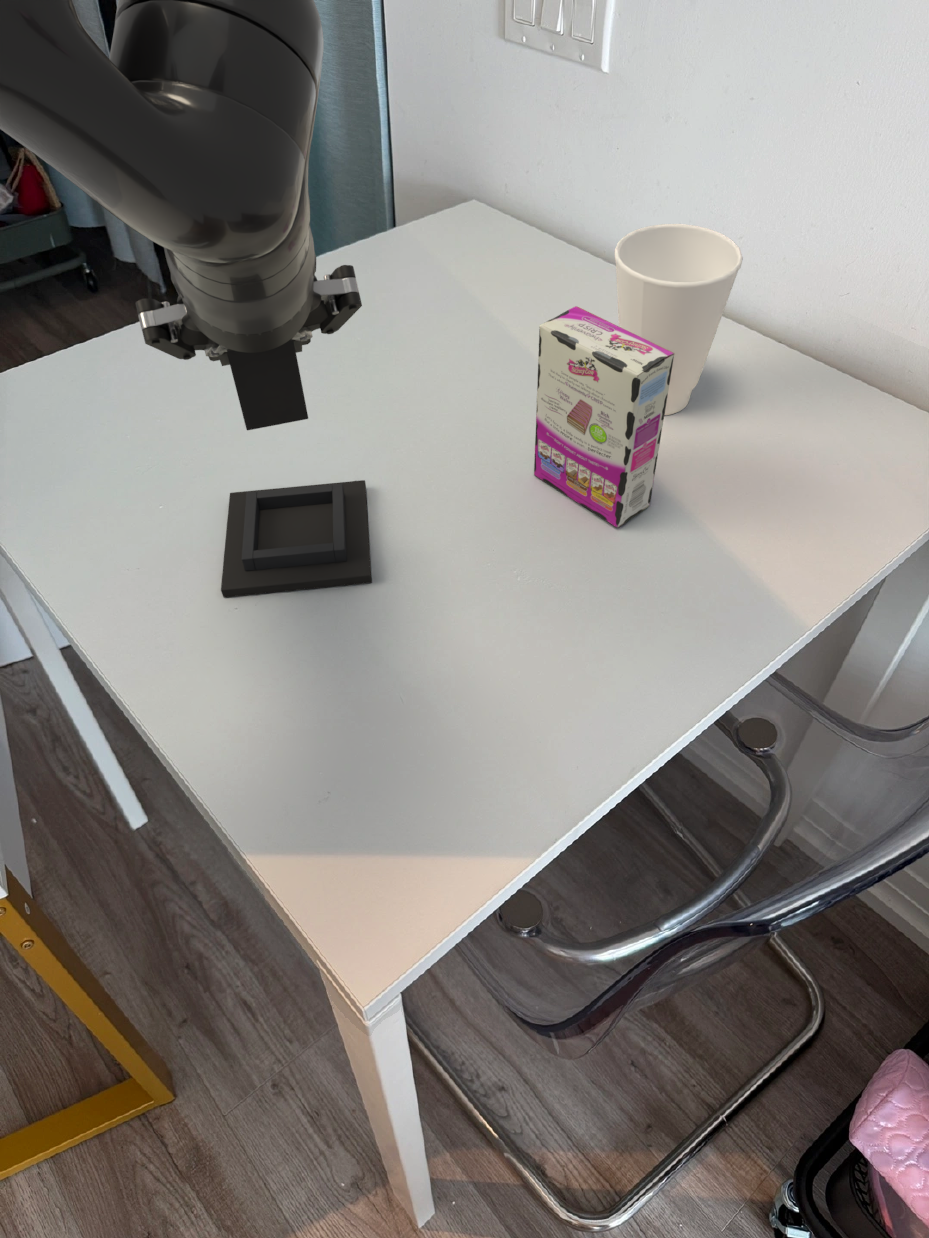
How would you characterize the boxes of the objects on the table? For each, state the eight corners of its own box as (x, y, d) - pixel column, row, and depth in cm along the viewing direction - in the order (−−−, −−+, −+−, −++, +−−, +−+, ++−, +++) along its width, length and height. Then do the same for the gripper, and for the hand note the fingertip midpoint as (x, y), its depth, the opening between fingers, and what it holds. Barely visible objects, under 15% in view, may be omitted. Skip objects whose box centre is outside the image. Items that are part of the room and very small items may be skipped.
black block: (246, 431, 65) (221, 331, 59) (239, 396, 68) (214, 297, 62) (308, 419, 66) (289, 319, 60) (298, 385, 69) (279, 287, 63)
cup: (733, 390, 97) (766, 246, 85) (674, 444, 91) (700, 298, 79) (640, 353, 102) (658, 211, 90) (578, 401, 97) (589, 258, 85)
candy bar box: (653, 505, 85) (679, 352, 73) (617, 531, 83) (638, 377, 71) (566, 452, 91) (576, 301, 79) (531, 475, 89) (536, 323, 77)
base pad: (223, 598, 79) (216, 578, 77) (231, 500, 88) (226, 480, 86) (371, 583, 80) (368, 563, 78) (366, 487, 88) (363, 467, 86)
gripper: (358, 172, 49) (344, 276, 66) (88, 212, 47) (145, 310, 64) (388, 309, 50) (367, 378, 67) (124, 356, 48) (170, 415, 64)
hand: (258, 345), depth 65 cm, fingers closed on black block, 4 cm apart
